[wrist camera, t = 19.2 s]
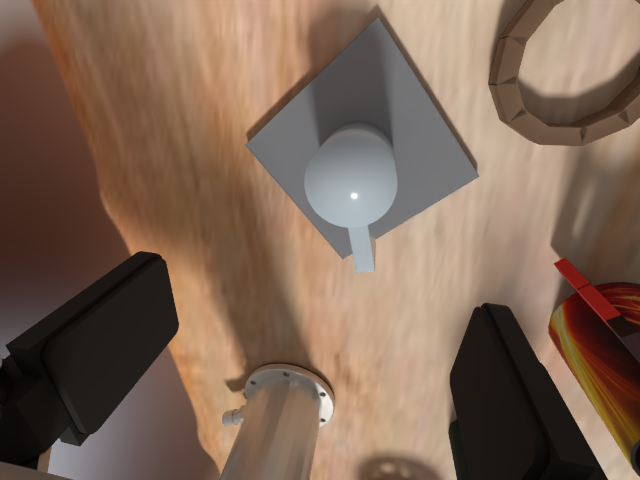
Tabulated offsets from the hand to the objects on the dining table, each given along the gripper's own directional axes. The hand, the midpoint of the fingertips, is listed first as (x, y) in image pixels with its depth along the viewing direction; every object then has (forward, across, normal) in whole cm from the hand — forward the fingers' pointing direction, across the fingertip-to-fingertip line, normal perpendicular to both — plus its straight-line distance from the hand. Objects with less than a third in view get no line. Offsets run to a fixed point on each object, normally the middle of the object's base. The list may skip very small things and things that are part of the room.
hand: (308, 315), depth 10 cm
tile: (+20, 0, 0) cm, 20 cm away
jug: (+19, -1, +2) cm, 19 cm away
